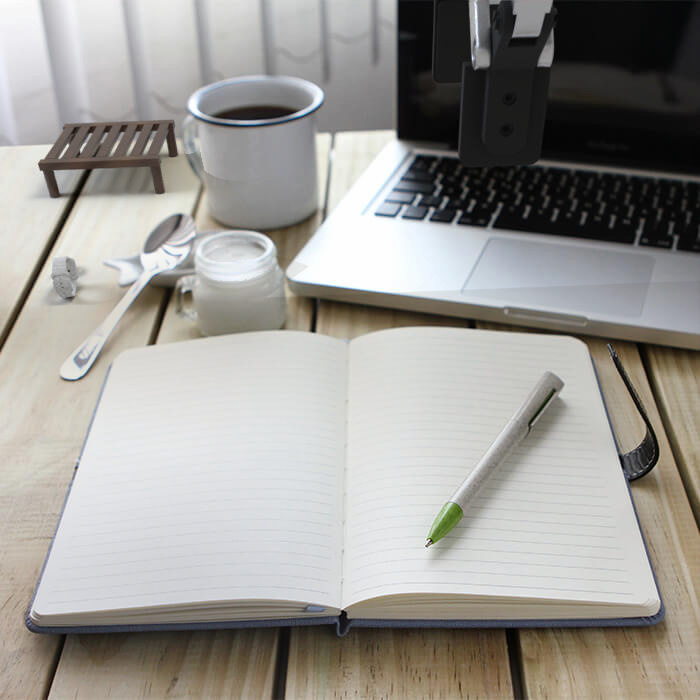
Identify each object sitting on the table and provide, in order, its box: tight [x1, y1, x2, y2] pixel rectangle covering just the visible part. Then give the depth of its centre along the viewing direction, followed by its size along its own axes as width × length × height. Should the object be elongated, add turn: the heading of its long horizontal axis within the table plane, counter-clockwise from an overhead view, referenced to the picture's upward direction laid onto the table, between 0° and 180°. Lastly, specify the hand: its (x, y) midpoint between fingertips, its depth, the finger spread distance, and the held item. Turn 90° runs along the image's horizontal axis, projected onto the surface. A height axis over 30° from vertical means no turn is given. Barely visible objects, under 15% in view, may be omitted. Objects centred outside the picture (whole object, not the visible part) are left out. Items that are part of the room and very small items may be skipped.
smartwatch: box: [50, 255, 80, 299], centre depth 76 cm, size 4×2×4 cm, turn 10°
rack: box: [37, 119, 179, 199], centre depth 97 cm, size 14×12×4 cm
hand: (479, 117), depth 35 cm, fingers open, 9 cm apart
